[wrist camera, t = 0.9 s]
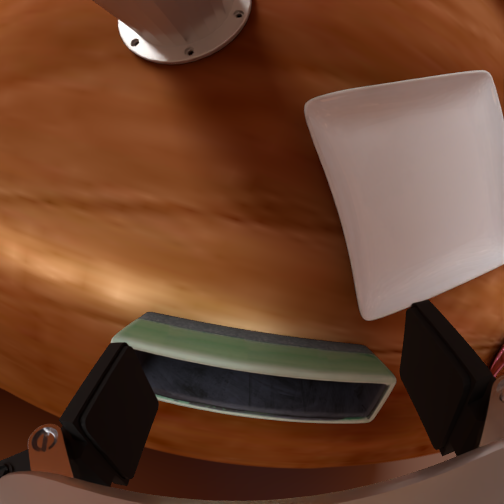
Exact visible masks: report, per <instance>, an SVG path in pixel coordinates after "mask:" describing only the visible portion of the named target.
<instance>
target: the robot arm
mask: <svg viewBox="0 0 504 504" xmlns="http://www.w3.org/2000/svg"><path fill="white" fill-rule="evenodd" d="M93 1H94V2H95V3H97V4H98V5H100V6H101V7H102V8H104V9H105V10H107V11H108V12H109V13H111V14H112V15H113V16H115V17H116V18H117V19H118V29H119V33H120V36H121V38H122V40H123V42H124V44H125V45H126V46H127V47H128V48H129V49H130V50H131V51H132V52H133V53H135V54H136V55H138V56H140V57H141V58H143V59H145V60H147V61H151V62H154V63H158V64H169V65H172V64H184V63H188V62H193V61H197V60H199V59H202V58H205V57H207V56H210V55H212V54H213V53H215V52H217V51H219V50H221V49H222V48H223V47H225V46H226V45H227V44H229V43H230V42H231V41H232V40H233V39H234V38H235V37H236V36H237V35H238V34H239V33H240V32H241V30H242V29H243V27H244V26H245V24H246V22H247V20H248V17H249V15H250V12H251V5H252V0H93ZM237 16H242V17H240V18H236V17H237ZM138 43H139V44H138ZM137 44H138V45H137ZM136 45H137V46H136ZM190 52H194V53H193V54H192V55H190V56H189V53H190ZM400 377H401V380H402V382H403V384H404V386H405V388H406V390H407V392H408V394H409V396H410V398H411V400H412V402H413V404H414V406H415V408H416V410H417V412H418V414H419V416H420V419H421V421H422V423H423V425H424V427H425V429H426V432H427V434H428V436H429V438H430V440H431V443H432V445H433V447H434V448H435V449H436V450H437V449H439V450H440V452H441V454H442V456H444V455H446V454H449V453H451V452H454V451H455V453H456V455H457V456H456V457H454V458H452V459H449V460H447V461H444V462H442V463H439V464H436V465H434V466H431V467H428V468H425V469H422V470H419V471H417V472H413V473H410V474H407V475H404V476H401V477H397V478H394V479H390V480H387V481H383V482H380V483H376V484H372V485H368V486H363V487H359V488H355V489H350V490H345V491H340V492H334V493H328V494H322V495H315V496H307V497H299V498H289V499H277V500H260V501H210V500H209V501H208V500H193V499H181V498H172V497H164V496H156V495H149V494H143V493H136V492H132V491H126V490H122V489H117V488H112V487H111V483H112V482H113V483H115V484H120V485H125V486H127V485H128V482H129V479H132V478H133V477H134V474H135V471H136V469H137V466H138V462H139V460H140V457H141V454H142V451H143V448H144V446H145V443H146V440H147V437H148V434H149V432H150V429H151V426H152V423H153V421H154V418H155V415H156V412H157V410H158V399H157V397H156V395H155V393H154V391H153V389H152V387H151V385H150V383H149V381H148V379H147V377H146V375H145V373H144V371H143V369H142V367H141V365H140V362H139V360H138V358H137V356H136V354H135V351H134V349H133V348H132V347H131V346H129V345H128V344H127V343H126V342H116V343H110V344H109V346H108V347H107V348H106V350H105V351H104V353H103V354H102V356H101V357H100V359H99V360H98V361H97V363H96V364H95V366H94V367H93V369H92V370H91V372H90V373H89V375H88V376H87V378H86V379H85V381H84V382H83V384H82V385H81V387H80V388H79V390H78V391H77V393H76V394H75V396H74V397H73V399H72V400H71V402H70V403H69V405H68V407H67V408H66V410H65V411H64V413H63V414H62V416H61V418H60V419H59V421H60V422H61V424H62V425H63V426H62V428H61V429H60V428H59V427H58V426H57V425H54V424H46V425H42V426H40V427H39V428H37V429H36V430H35V431H33V433H32V434H31V436H30V438H29V440H28V450H25V451H23V452H21V453H18V454H16V455H14V456H11V457H9V458H7V459H4V460H1V461H0V504H504V375H502V376H500V377H499V378H497V379H496V378H495V377H494V376H493V375H492V372H491V371H490V370H489V368H488V367H487V366H486V365H485V363H484V362H483V361H482V360H481V359H480V357H479V356H478V355H477V354H476V352H475V351H474V350H473V349H472V348H471V347H470V345H469V344H468V343H467V342H466V341H465V340H464V338H463V337H462V336H461V335H460V334H459V333H458V332H457V330H456V329H455V328H454V327H453V326H452V325H451V324H450V323H449V321H448V320H447V319H446V318H445V317H444V316H443V315H442V314H441V313H440V312H439V311H438V309H437V308H436V307H435V306H434V305H433V304H432V303H431V302H430V301H429V300H424V301H420V302H415V303H412V304H411V307H410V308H409V309H407V311H406V321H405V332H404V341H403V349H402V357H401V364H400Z"/></svg>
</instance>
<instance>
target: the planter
mask: <svg viewBox="0 0 504 504" xmlns="http://www.w3.org/2000/svg"><path fill="white" fill-rule="evenodd" d="M116 342H126V343H127V344H128V345H129V346H131V347H132V348H133V349H134V351H135V354H136V356H137V358H138V360H139V362H140V365H141V367H142V369H143V371H144V373H145V375H146V377H147V379H148V381H149V383H150V385H151V387H152V389H153V391H154V393H155V395H156V397H157V399H158V400H160V401H164V402H168V403H172V404H176V405H181V406H185V407H190V408H195V409H200V410H206V411H211V412H217V413H223V414H229V415H236V416H243V417H250V418H259V419H268V420H278V421H291V422H307V423H368V422H370V421H372V420H373V419H374V418H375V416H376V415H377V413H378V412H379V410H380V409H381V407H382V406H383V404H384V403H385V401H386V399H387V398H388V396H389V395H390V393H391V391H392V389H393V388H394V386H395V384H396V378H395V376H394V375H393V373H392V372H391V371H390V370H389V369H388V368H387V367H386V366H385V365H384V364H383V363H382V362H381V361H380V360H379V359H378V358H377V357H376V356H375V355H374V354H373V353H372V352H371V351H370V350H369V349H368V348H367V347H366V346H364V345H359V344H350V343H340V342H331V341H322V340H314V339H306V338H298V337H291V336H283V335H276V334H269V333H263V332H256V331H250V330H244V329H238V328H232V327H226V326H221V325H215V324H210V323H204V322H199V321H194V320H189V319H184V318H179V317H174V316H169V315H164V314H159V313H154V312H147V313H145V314H144V315H142V316H141V317H139V318H138V319H136V320H135V321H134V322H132V323H131V324H129V325H128V326H126V327H125V328H124V329H122V330H121V331H120V332H118V333H117V334H116V335H115V336H114V337H113V338H112V340H111V343H116Z"/></svg>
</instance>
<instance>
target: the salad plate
mask: <svg viewBox="0 0 504 504" xmlns="http://www.w3.org/2000/svg"><path fill="white" fill-rule="evenodd" d="M304 114H305V119H306V122H307V125H308V128H309V131H310V134H311V137H312V140H313V143H314V146H315V148H316V151H317V153H318V156H319V159H320V162H321V164H322V167H323V169H324V172H325V175H326V178H327V180H328V183H329V186H330V189H331V192H332V195H333V198H334V202H335V205H336V208H337V211H338V214H339V218H340V221H341V225H342V229H343V233H344V237H345V241H346V245H347V249H348V253H349V258H350V263H351V268H352V273H353V279H354V284H355V290H356V296H357V301H358V306H359V310H360V314H361V316H362V317H363V319H365V320H367V321H372V320H376V319H379V318H382V317H385V316H387V315H390V314H393V313H396V312H398V311H401V310H403V309H405V308H408V307H411V304H412V303H415V302H420V301H424V300H427V299H430V298H432V297H434V296H437V295H439V294H441V293H443V292H445V291H448V290H450V289H452V288H454V287H457V286H459V285H461V284H463V283H465V282H468V281H470V280H472V279H474V278H476V277H478V276H480V275H483V274H485V273H487V272H489V271H491V270H493V269H495V268H497V267H500V266H501V265H503V264H504V119H503V114H502V110H501V106H500V102H499V98H498V95H497V91H496V88H495V84H494V81H493V79H492V76H491V74H490V73H488V72H487V71H484V70H477V71H466V72H458V73H451V74H444V75H437V76H430V77H424V78H417V79H411V80H404V81H398V82H392V83H385V84H378V85H371V86H364V87H358V88H352V89H346V90H341V91H337V92H333V93H329V94H325V95H321V96H318V97H315V98H313V99H311V100H309V101H308V102H307V103H306V104H305V106H304Z"/></svg>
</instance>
